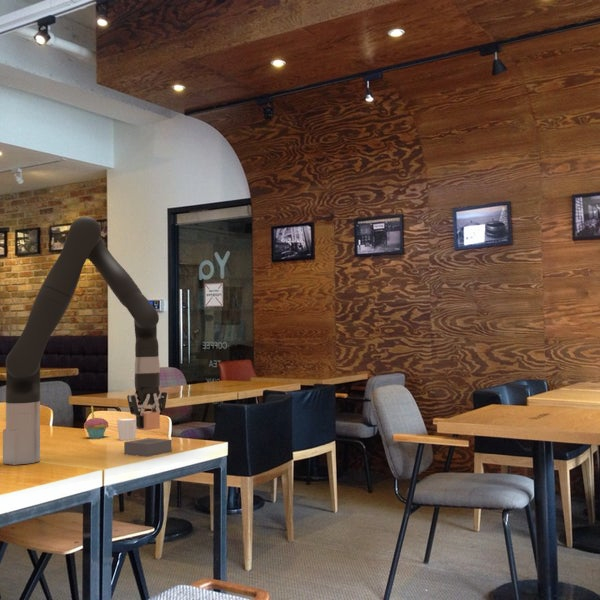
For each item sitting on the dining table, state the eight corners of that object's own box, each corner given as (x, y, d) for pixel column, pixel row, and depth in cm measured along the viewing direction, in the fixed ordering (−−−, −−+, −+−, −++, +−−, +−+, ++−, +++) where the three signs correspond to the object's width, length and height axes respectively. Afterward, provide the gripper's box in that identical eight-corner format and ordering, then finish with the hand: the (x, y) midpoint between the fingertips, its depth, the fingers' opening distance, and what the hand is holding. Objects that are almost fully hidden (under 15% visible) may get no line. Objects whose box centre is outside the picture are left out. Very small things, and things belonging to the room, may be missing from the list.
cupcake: (95, 439, 243) (95, 405, 244) (78, 438, 247) (78, 404, 248) (113, 436, 251) (113, 403, 251) (96, 435, 255) (96, 402, 255)
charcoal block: (147, 457, 204) (147, 444, 204) (124, 455, 210) (124, 442, 210) (171, 452, 212) (171, 439, 212) (148, 450, 218) (148, 437, 218)
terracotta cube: (146, 430, 208) (146, 413, 208) (136, 429, 211) (136, 412, 211) (159, 428, 212) (159, 411, 212) (149, 427, 215) (148, 411, 215)
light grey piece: (132, 440, 239) (131, 420, 239) (113, 440, 240) (113, 420, 240) (140, 437, 245) (140, 418, 246) (122, 437, 247) (122, 418, 247)
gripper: (136, 373, 204) (137, 431, 203) (173, 370, 216) (174, 425, 215) (120, 372, 209) (121, 429, 208) (157, 370, 220) (158, 424, 219)
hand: (148, 427), depth 211 cm, fingers closed on terracotta cube, 5 cm apart
